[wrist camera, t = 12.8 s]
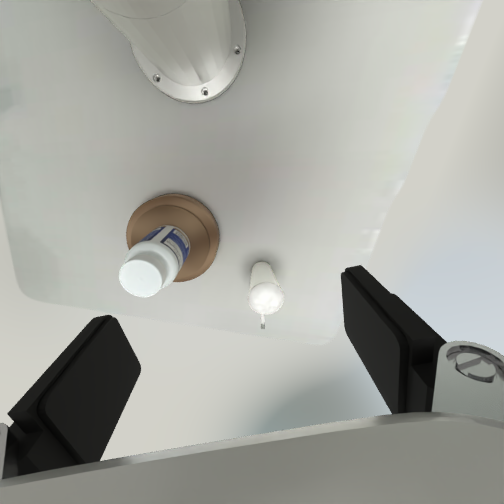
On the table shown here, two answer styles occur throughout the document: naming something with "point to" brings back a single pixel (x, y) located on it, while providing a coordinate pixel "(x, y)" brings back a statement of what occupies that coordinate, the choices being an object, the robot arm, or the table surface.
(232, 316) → the table surface
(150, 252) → the pill bottle
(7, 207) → the table surface
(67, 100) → the table surface
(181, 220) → the walnut stand
